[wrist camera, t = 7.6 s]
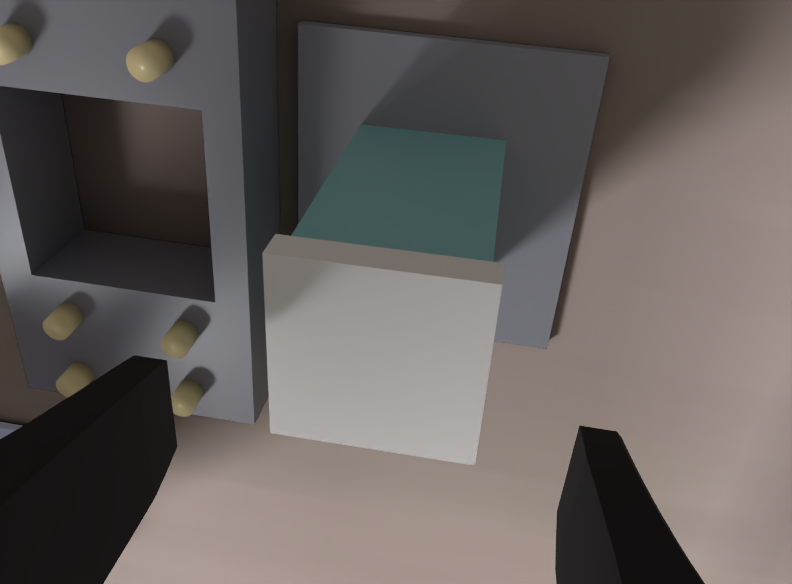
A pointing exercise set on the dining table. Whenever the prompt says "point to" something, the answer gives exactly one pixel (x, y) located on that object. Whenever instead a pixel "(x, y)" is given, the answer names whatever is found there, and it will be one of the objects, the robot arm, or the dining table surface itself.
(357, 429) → the plug
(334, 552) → the dining table surface
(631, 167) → the dining table surface
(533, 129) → the pad
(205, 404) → the box
